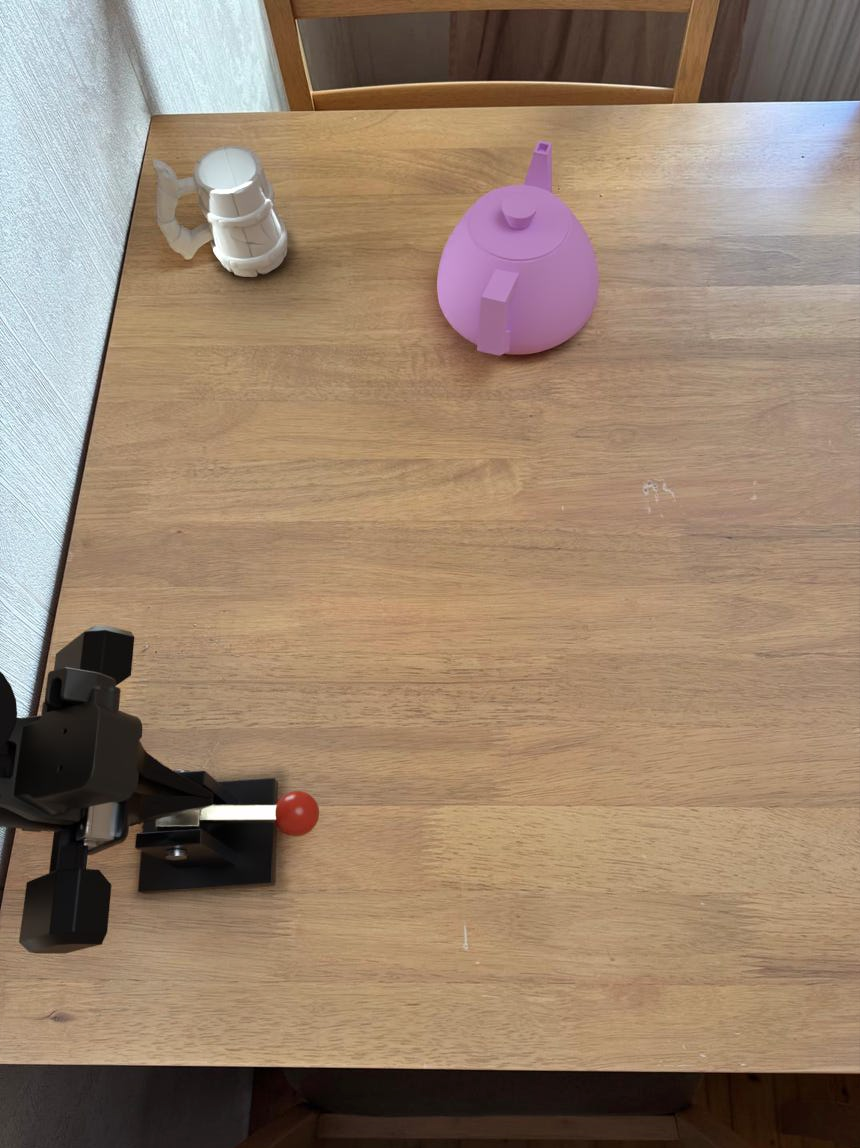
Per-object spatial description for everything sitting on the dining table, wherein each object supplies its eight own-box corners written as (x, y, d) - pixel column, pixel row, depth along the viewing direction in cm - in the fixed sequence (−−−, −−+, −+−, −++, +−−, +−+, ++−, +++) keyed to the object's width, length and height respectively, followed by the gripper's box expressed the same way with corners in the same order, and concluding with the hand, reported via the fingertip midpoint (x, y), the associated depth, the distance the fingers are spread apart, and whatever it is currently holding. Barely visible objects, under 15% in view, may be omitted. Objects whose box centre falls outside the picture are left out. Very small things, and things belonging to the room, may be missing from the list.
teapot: (571, 406, 86) (582, 314, 75) (412, 376, 87) (399, 281, 76) (615, 234, 94) (630, 129, 83) (468, 210, 96) (464, 103, 85)
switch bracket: (278, 781, 72) (246, 746, 63) (275, 885, 69) (242, 863, 60) (151, 790, 72) (101, 756, 63) (143, 894, 69) (89, 874, 60)
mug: (298, 269, 93) (271, 167, 82) (183, 296, 92) (139, 197, 81) (282, 216, 96) (254, 111, 85) (171, 242, 95) (127, 138, 84)
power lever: (317, 796, 68) (321, 786, 65) (316, 840, 67) (321, 831, 64) (160, 797, 65) (158, 785, 62) (157, 842, 64) (154, 832, 61)
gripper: (-28, 929, 41) (274, 935, 51) (27, 560, 48) (281, 630, 59) (-99, 954, 48) (178, 955, 58) (-43, 629, 55) (195, 681, 66)
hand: (210, 800), depth 60 cm, fingers closed
